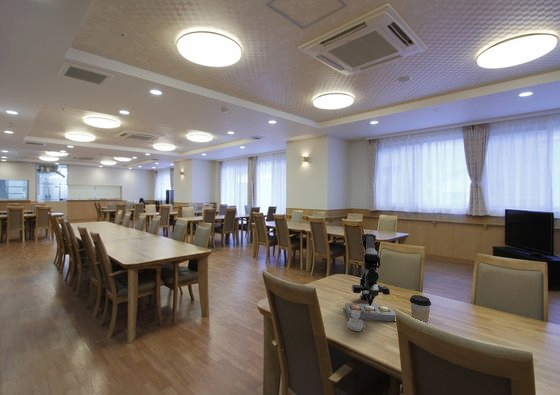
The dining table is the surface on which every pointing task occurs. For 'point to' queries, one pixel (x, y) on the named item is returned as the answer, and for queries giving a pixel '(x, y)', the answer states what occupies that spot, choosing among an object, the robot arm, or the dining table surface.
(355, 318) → the stamp
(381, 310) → the button mustard
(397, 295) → the dining table surface
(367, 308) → the button sage
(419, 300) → the coffee cup
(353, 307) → the button terracotta
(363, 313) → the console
